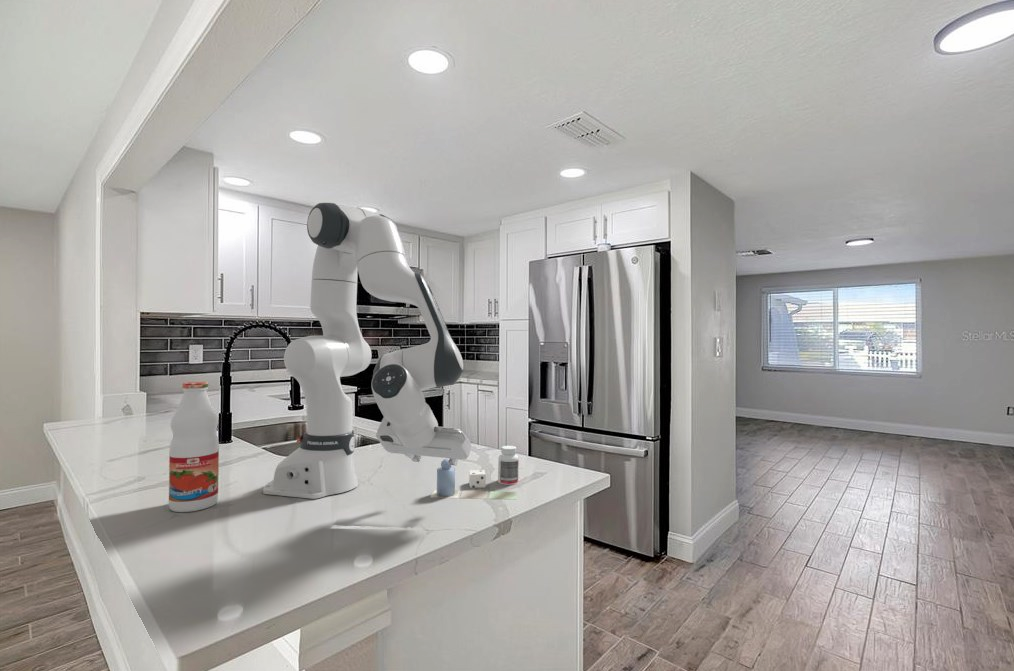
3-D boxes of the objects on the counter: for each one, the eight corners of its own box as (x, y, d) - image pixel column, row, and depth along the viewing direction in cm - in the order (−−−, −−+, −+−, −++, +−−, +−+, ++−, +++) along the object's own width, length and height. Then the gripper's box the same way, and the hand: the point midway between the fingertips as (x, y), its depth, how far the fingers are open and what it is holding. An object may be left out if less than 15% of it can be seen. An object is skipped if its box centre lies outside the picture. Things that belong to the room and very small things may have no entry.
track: (426, 500, 113) (426, 497, 113) (430, 491, 119) (430, 489, 119) (520, 502, 112) (520, 499, 112) (520, 493, 118) (520, 491, 118)
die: (469, 490, 121) (470, 474, 121) (469, 485, 125) (469, 470, 125) (485, 489, 121) (485, 474, 121) (484, 484, 125) (484, 469, 125)
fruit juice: (221, 496, 114) (222, 380, 114) (214, 509, 105) (216, 384, 105) (174, 501, 110) (175, 381, 110) (163, 515, 101) (165, 385, 101)
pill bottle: (522, 484, 126) (522, 448, 126) (505, 488, 123) (505, 450, 123) (510, 479, 130) (511, 444, 130) (494, 482, 127) (494, 446, 127)
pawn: (435, 496, 114) (435, 461, 114) (438, 490, 118) (439, 456, 118) (453, 496, 114) (453, 461, 114) (456, 491, 118) (456, 457, 118)
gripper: (465, 417, 100) (481, 452, 109) (380, 411, 106) (402, 445, 115) (457, 443, 95) (474, 477, 105) (368, 435, 101) (392, 469, 111)
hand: (435, 460), depth 110 cm, fingers open, 8 cm apart
